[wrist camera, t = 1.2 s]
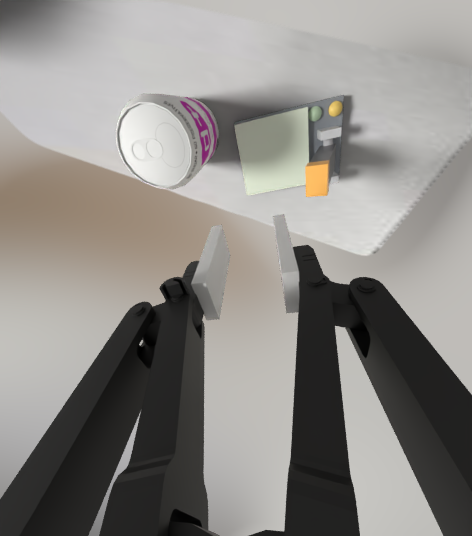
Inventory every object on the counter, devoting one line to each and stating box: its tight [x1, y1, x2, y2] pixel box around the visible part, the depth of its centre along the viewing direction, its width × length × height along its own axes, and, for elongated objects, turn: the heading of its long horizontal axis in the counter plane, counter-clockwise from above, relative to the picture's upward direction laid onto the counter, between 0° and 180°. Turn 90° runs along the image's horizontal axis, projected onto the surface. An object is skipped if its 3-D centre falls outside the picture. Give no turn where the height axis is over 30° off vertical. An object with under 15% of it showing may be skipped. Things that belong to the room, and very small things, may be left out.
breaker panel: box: [234, 95, 344, 196], centre depth 31 cm, size 10×14×4 cm
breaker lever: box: [305, 138, 336, 197], centre depth 27 cm, size 4×2×11 cm, turn 12°
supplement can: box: [116, 94, 219, 189], centre depth 26 cm, size 8×8×15 cm
